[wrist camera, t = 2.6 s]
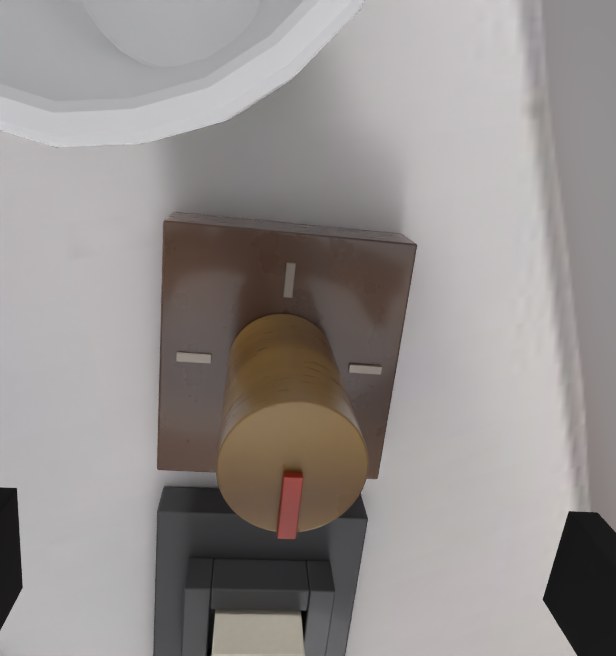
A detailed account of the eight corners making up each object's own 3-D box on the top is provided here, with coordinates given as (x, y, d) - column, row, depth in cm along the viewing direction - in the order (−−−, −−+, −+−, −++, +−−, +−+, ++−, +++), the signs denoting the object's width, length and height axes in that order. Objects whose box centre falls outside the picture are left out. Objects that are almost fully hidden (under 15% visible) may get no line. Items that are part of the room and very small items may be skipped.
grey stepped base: (163, 486, 28) (149, 540, 24) (361, 493, 29) (376, 546, 26) (158, 668, 32) (144, 740, 28) (333, 668, 33) (343, 737, 29)
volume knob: (231, 309, 23) (219, 400, 15) (339, 317, 23) (381, 410, 16) (225, 407, 24) (210, 538, 16) (326, 412, 25) (359, 542, 17)
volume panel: (172, 211, 24) (162, 221, 21) (402, 233, 25) (419, 244, 23) (165, 441, 27) (155, 472, 25) (367, 451, 28) (378, 482, 26)
